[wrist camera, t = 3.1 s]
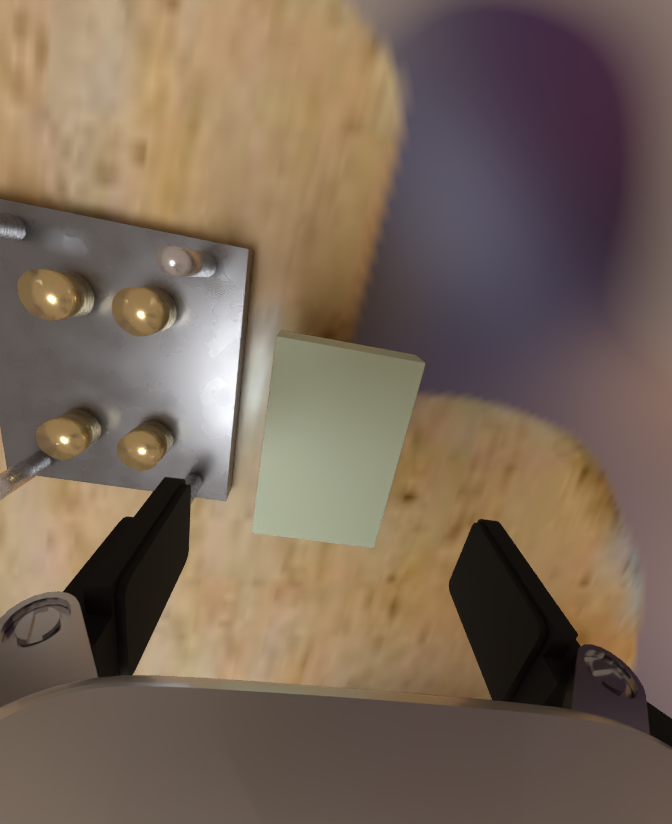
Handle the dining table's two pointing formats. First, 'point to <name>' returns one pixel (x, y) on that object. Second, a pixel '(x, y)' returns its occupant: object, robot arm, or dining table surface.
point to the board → (332, 438)
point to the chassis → (118, 352)
